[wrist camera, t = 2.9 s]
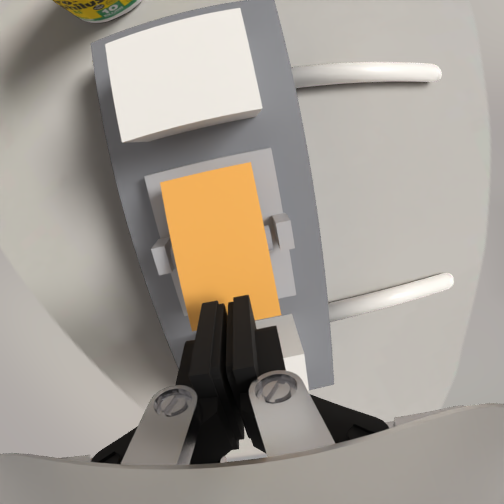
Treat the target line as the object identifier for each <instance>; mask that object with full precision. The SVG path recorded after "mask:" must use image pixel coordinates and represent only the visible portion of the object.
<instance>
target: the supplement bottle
mask: <svg viewBox="0 0 504 504" xmlns="http://www.w3.org/2000/svg"><path fill="white" fill-rule="evenodd" d="M53 1H54V2H55V3H57V4H59V5H60V6H62V7H63V8H65V9H66V10H68V11H69V12H71V13H72V14H74V15H75V16H77V17H78V18H80V19H81V20H84V21H87V22H92V23H101V22H107V21H110V20H113V19H115V18H117V17H119V16H121V15H123V14H125V13H127V12H129V11H130V10H132V9H133V8H134V7H135V6H137V5H138V4H139V3H140V2H141V1H142V0H53Z"/></svg>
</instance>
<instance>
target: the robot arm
mask: <svg viewBox="0 0 504 504" xmlns="http://www.w3.org/2000/svg"><path fill="white" fill-rule="evenodd" d="M244 427H245V429H246V432H247V435H248V437H249V438H251V440H252V443H253V446H254V447H256V448H258V449H259V450H261V451H263V452H265V453H266V454H267V457H266V458H259V459H251V460H243V461H234V462H226V457H225V455H226V454H227V453H228V452H230V451H231V450H235V449H239V440H240V439H244ZM0 504H504V404H500V403H499V404H498V403H487V404H479V405H470V406H453V407H449V408H444V409H440V410H435V411H430V412H425V413H419V414H414V415H408V416H401V417H395V418H394V421H392V422H384V421H382V420H380V419H378V418H376V417H373V416H370V415H367V414H364V413H361V412H358V411H355V410H352V409H349V408H346V407H343V406H340V405H338V404H335V403H332V402H329V401H327V400H324V399H321V398H318V397H316V396H313V395H311V394H309V392H308V390H307V388H306V386H305V385H304V383H303V381H302V379H301V378H300V377H299V376H298V375H297V374H295V373H293V372H290V371H286V368H285V364H284V359H283V354H282V349H281V345H280V340H279V335H278V331H277V326H270V327H265V328H260V329H257V328H256V324H255V319H254V315H253V311H252V306H251V302H250V298H249V295H243V296H238V297H233V302H228V315H227V311H226V307H225V304H224V303H222V304H219V302H218V301H211V302H206V303H202V306H201V311H200V316H199V321H198V326H197V332H196V337H195V340H190V341H186V342H185V344H184V349H183V353H182V358H181V362H180V367H179V371H178V376H177V380H176V385H175V386H170V387H167V388H164V389H162V390H160V391H159V392H157V393H156V394H155V395H154V396H153V397H152V399H151V400H150V402H149V404H148V406H147V408H146V410H145V412H144V414H143V417H142V419H141V421H140V423H139V425H138V426H137V427H136V428H135V429H133V430H131V431H130V432H128V433H127V434H125V435H124V436H123V437H121V438H119V439H118V440H116V441H115V442H113V443H112V444H110V445H108V446H107V447H105V448H104V449H102V450H101V451H99V452H98V453H97V454H96V455H95V456H94V457H93V458H92V457H91V455H85V456H75V457H66V458H54V457H47V456H38V455H31V454H19V453H8V454H7V453H6V454H0Z"/></svg>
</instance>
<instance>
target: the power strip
mask: <svg viewBox="0 0 504 504" xmlns="http://www.w3.org/2000/svg"><path fill="white" fill-rule="evenodd" d="M91 49H92V58H93V65H94V73H95V79H96V86H97V92H98V98H99V104H100V110H101V115H102V120H103V126H104V131H105V136H106V140H107V145H108V150H109V154H110V159H111V163H112V167H113V172H114V176H115V180H116V184H117V188H118V192H119V196H120V199H121V203H122V207H123V210H124V214H125V218H126V221H127V225H128V228H129V232H130V235H131V238H132V242H133V245H134V248H135V251H136V255H137V258H138V261H139V264H140V267H141V270H142V273H143V276H144V279H145V282H146V285H147V288H148V291H149V294H150V297H151V299H152V302H153V305H154V308H155V310H156V313H157V316H158V318H159V321H160V324H161V326H162V329H163V332H164V334H165V337H166V339H167V342H168V344H169V347H170V349H171V352H172V354H173V357H174V359H175V361H176V364H177V366H178V369H179V367H180V362H181V358H182V353H183V349H184V344H185V342H186V341H190V340H195V337H196V332H197V331H192V329H191V325H190V321H189V317H188V313H187V309H186V305H185V301H184V297H183V293H182V289H181V284H180V280H179V276H178V271H177V269H176V268H175V267H174V264H173V261H172V257H171V246H172V243H171V238H170V233H169V228H168V223H167V218H166V213H165V208H164V202H163V197H162V191H161V185H160V182H164V181H168V180H172V179H176V178H180V177H184V176H188V175H193V174H197V173H201V172H206V171H210V170H215V169H219V168H224V167H229V166H233V165H238V164H243V163H248V162H251V165H252V170H253V175H254V179H255V184H256V189H257V194H258V199H259V204H260V209H261V214H262V219H263V224H264V226H267V225H268V226H269V229H270V234H271V239H272V244H273V250H270V251H269V254H270V259H271V264H272V269H273V274H274V279H275V285H276V290H277V295H278V300H279V305H280V311H281V315H280V316H275V317H270V318H265V319H260V320H255V324H256V328H257V329H260V328H265V327H270V326H277V331H278V335H279V340H280V345H281V349H282V354H283V359H284V364H285V368H286V371H290V372H293V373H295V374H297V375H298V376H299V377H300V378H301V379H302V381H303V383H304V385H305V386H306V388H307V390H308V392H309V390H313V389H317V388H321V387H325V386H329V385H333V384H334V374H333V358H332V344H331V331H330V322H333V321H337V320H341V319H345V318H349V317H353V316H357V315H361V314H365V313H369V312H372V311H376V310H380V309H384V308H387V307H391V306H394V305H398V304H401V303H405V302H408V301H412V300H415V299H418V298H422V297H425V296H428V295H432V294H435V293H438V292H441V291H444V290H447V289H450V288H451V287H452V286H453V283H454V278H453V276H452V275H451V274H450V273H442V274H439V275H435V276H432V277H428V278H425V279H421V280H418V281H414V282H411V283H407V284H403V285H399V286H396V287H392V288H388V289H384V290H380V291H377V292H373V293H369V294H365V295H361V296H356V297H352V298H348V299H344V300H340V301H335V302H331V303H328V297H327V287H326V278H325V269H324V260H323V252H322V244H321V236H320V228H319V221H318V214H317V207H316V200H315V193H314V187H313V180H312V174H311V168H310V162H309V156H308V150H307V145H306V139H305V134H304V128H303V123H302V118H301V113H300V108H299V103H298V98H297V93H296V88H301V87H310V86H320V85H331V84H344V83H360V82H393V81H411V82H437V81H439V80H440V79H441V76H442V73H441V70H440V68H439V67H438V66H436V65H434V64H427V63H408V62H352V63H332V64H318V65H307V66H297V67H291V65H290V61H289V57H288V52H287V48H286V44H285V40H284V36H283V32H282V28H281V24H280V20H279V16H278V12H277V9H276V5H275V1H274V0H245V1H238V2H232V3H226V4H220V5H215V6H210V7H205V8H200V9H196V10H191V11H187V12H183V13H179V14H175V15H171V16H168V17H164V18H160V19H157V20H154V21H150V22H147V23H144V24H141V25H138V26H135V27H132V28H129V29H126V30H123V31H121V32H118V33H115V34H113V35H110V36H107V37H105V38H102V39H100V40H97V41H95V42H93V43H91Z"/></svg>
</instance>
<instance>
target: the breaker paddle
mask: <svg viewBox="0 0 504 504" xmlns="http://www.w3.org/2000/svg"><path fill="white" fill-rule="evenodd" d="M160 185H161V191H162V197H163V202H164V208H165V213H166V218H167V223H168V228H169V233H170V238H171V243H172V246H171V257H172V261H173V264H174V267H175V268H176V269H177V271H178V276H179V280H180V284H181V289H182V293H183V297H184V301H185V305H186V309H187V313H188V317H189V321H190V325H191V329H192V331H197V326H198V321H199V316H200V311H201V306H202V303H206V302H211V301H218V302H219V304H222V303H224V304H225V307H226V311H227V315H228V302H233V297H238V296H243V295H249V298H250V302H251V306H252V311H253V315H254V319H255V320H260V319H265V318H270V317H275V316H280V315H281V311H280V305H279V300H278V295H277V290H276V285H275V279H274V274H273V269H272V264H271V259H270V254H269V251H270V250H273V244H272V239H271V234H270V229H269V226H268V225H267V226H264V224H263V219H262V214H261V209H260V204H259V199H258V194H257V189H256V184H255V179H254V175H253V170H252V165H251V162H248V163H243V164H238V165H233V166H229V167H224V168H219V169H215V170H210V171H206V172H201V173H197V174H193V175H188V176H184V177H180V178H176V179H172V180H168V181H164V182H160Z"/></svg>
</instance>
